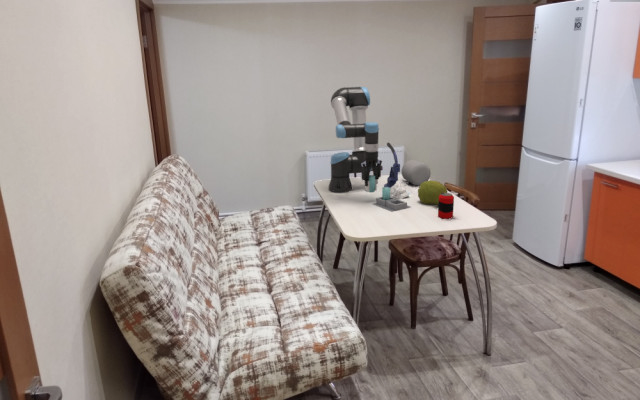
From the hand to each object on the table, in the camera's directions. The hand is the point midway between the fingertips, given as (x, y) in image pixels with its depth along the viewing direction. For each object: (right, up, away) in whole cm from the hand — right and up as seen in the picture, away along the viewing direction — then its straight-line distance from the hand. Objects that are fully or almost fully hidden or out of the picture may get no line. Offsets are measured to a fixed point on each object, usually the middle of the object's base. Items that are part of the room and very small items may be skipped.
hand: (371, 190), depth 268 cm
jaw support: (+17, -5, +9) cm, 20 cm away
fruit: (+34, -8, -4) cm, 35 cm away
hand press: (+17, +2, +31) cm, 35 cm away
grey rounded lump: (+31, +6, +44) cm, 55 cm away
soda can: (+36, -14, -25) cm, 46 cm away
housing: (+10, -9, -7) cm, 16 cm away
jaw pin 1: (0, 0, 0) cm, 0 cm away
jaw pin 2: (+8, -7, -4) cm, 12 cm away
